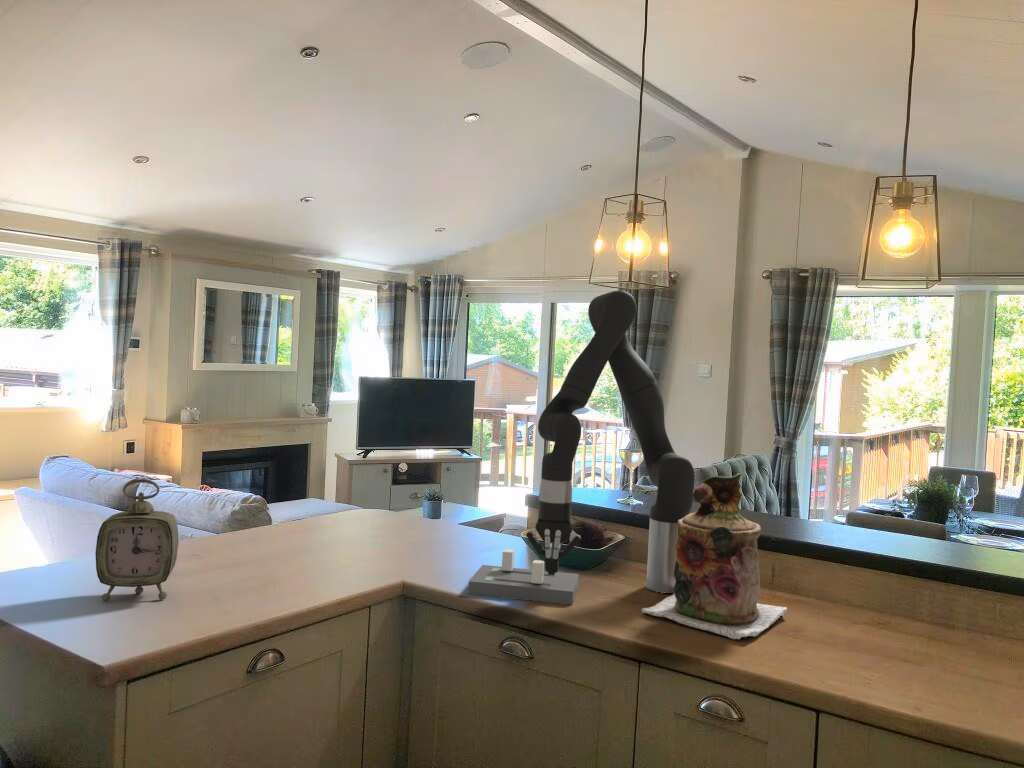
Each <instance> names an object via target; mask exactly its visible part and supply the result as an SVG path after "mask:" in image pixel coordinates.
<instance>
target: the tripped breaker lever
mask: <svg viewBox="0 0 1024 768" xmlns="http://www.w3.org/2000/svg"><path fill="white" fill-rule="evenodd" d="M531 570H532V577H531V583H539V584H542V582H543V576H544V571H545V561H544V560H539V559H538V560H536V559H534V560H533V561H532V564H531Z"/></svg>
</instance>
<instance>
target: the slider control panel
mask: <svg viewBox="0 0 1024 768" xmlns="http://www.w3.org/2000/svg"><path fill="white" fill-rule="evenodd" d="M579 576H580V575H579V573H571V572H562V571H561V572H560V571H557V573H555V575H548V572H546V570H544V576H543V582H542V584H539V583H531V577H532V569H531V568H530V569H528V568H518V567H514V568H513V570H512V571H504V570H502V566H497V565H489V564H481V566H480V567H479V568H478V570H477V571H475V573H474V574H473V576H472V577H471V578H470V579H469V580H468V588H467V594H468V595H471V596H472V595H473V596H474V595H475V596H481V595H482V596H483V597H491V596H494V597H493V598H500V597H504V598H503V599H510V598H513V599H512V600H519V599H522V601H529V600H532V601H531V602H539V601H542V603H548V602H549V604H550V603H551V604H558V603H561V604H560V605H568V604H570V605H569V606H573V604H574V601H575V597H576V594H577V591H578V588H579Z"/></svg>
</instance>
